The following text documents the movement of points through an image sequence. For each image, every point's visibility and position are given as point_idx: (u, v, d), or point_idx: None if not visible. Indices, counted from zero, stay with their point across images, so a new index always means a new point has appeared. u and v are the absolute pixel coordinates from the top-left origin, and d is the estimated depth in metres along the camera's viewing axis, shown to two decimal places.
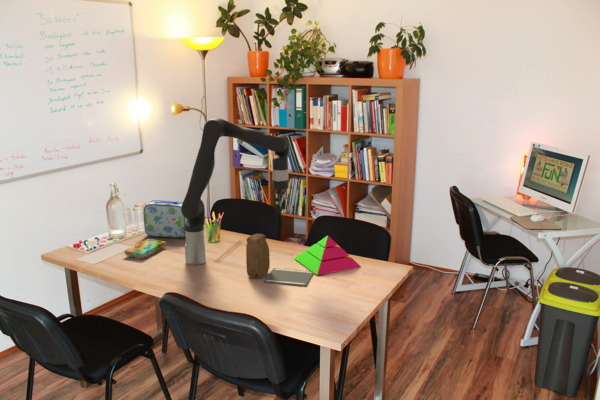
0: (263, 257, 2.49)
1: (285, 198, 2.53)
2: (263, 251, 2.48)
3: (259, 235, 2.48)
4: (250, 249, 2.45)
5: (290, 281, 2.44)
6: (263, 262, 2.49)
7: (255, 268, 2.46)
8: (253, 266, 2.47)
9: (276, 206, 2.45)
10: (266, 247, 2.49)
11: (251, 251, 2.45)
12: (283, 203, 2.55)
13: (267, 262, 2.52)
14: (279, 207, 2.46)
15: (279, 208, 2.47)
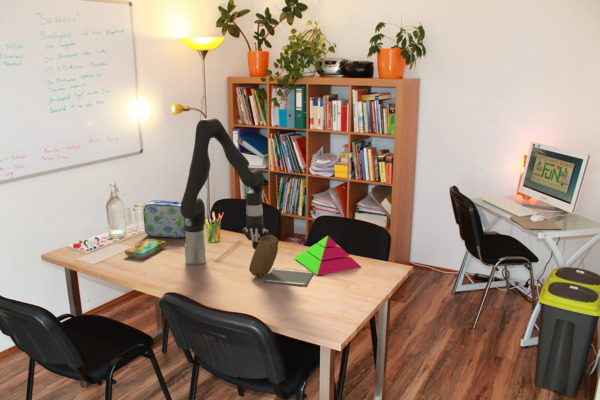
0: (270, 260, 2.47)
1: None
2: (272, 254, 2.46)
3: (273, 238, 2.45)
4: (261, 250, 2.43)
5: (290, 281, 2.44)
6: (268, 264, 2.48)
7: (259, 268, 2.45)
8: (258, 266, 2.45)
9: None
10: (276, 250, 2.47)
11: (261, 252, 2.43)
12: None
13: (271, 264, 2.51)
14: None
15: None
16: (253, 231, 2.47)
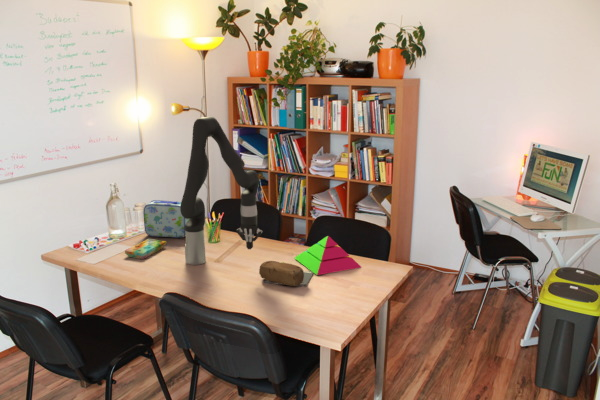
0: None
1: None
2: None
3: (301, 277, 2.41)
4: (284, 278, 2.39)
5: None
6: None
7: (268, 279, 2.44)
8: (269, 278, 2.43)
9: None
10: None
11: (283, 279, 2.39)
12: None
13: None
14: None
15: None
16: (247, 231, 2.48)
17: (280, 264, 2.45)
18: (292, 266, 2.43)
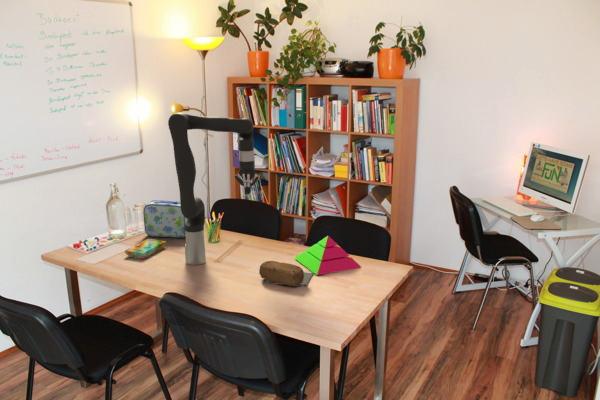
0: None
1: None
2: None
3: (301, 277, 2.41)
4: (284, 278, 2.39)
5: None
6: None
7: (268, 279, 2.44)
8: (269, 278, 2.43)
9: (252, 185, 2.60)
10: None
11: (283, 279, 2.39)
12: None
13: None
14: None
15: None
16: (245, 177, 2.59)
17: (280, 264, 2.45)
18: (292, 266, 2.43)
